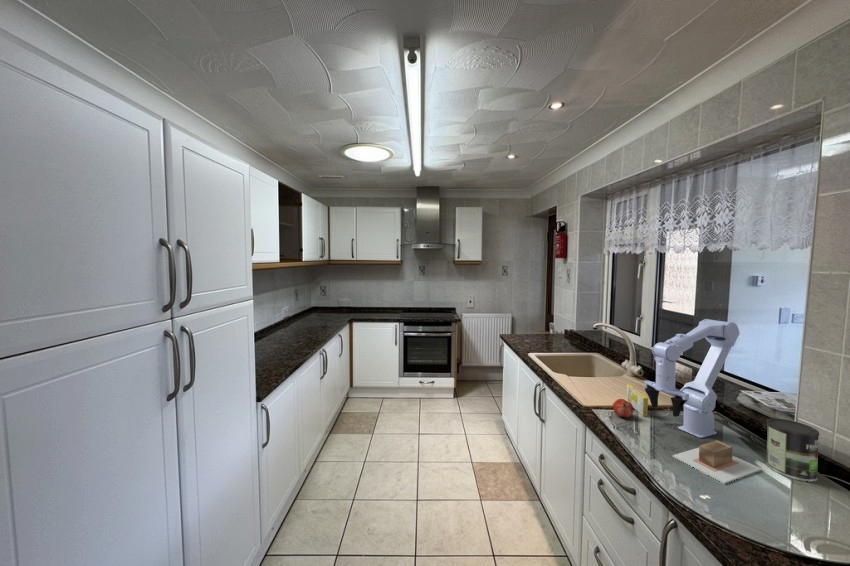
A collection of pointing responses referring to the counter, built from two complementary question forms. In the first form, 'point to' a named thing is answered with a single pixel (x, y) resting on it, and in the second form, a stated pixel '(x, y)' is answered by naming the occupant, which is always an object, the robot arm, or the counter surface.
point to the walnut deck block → (715, 454)
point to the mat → (720, 473)
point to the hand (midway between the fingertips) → (665, 411)
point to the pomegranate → (623, 408)
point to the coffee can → (792, 449)
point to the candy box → (637, 400)
